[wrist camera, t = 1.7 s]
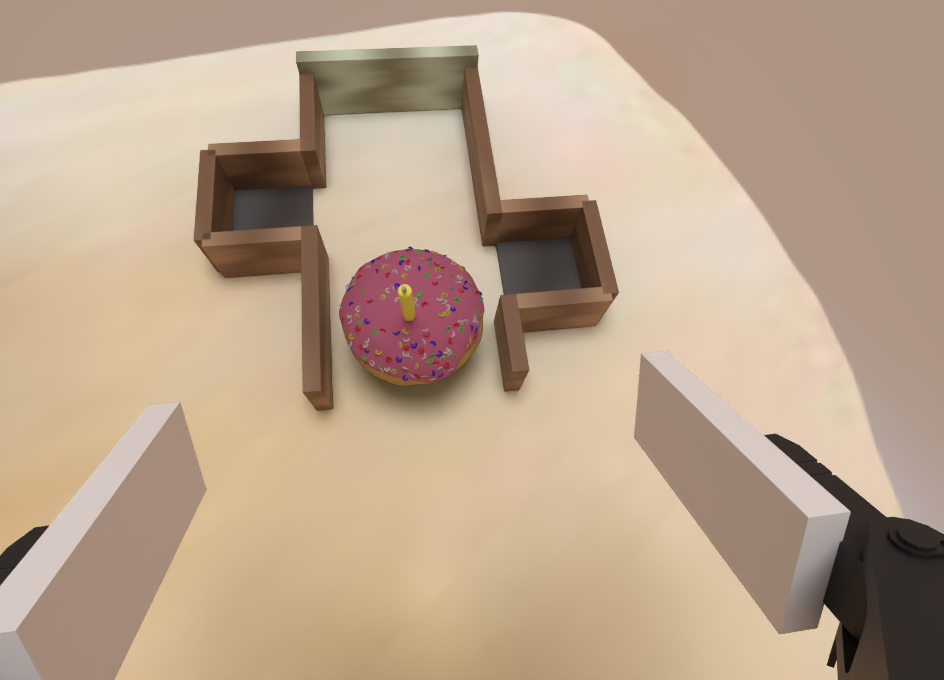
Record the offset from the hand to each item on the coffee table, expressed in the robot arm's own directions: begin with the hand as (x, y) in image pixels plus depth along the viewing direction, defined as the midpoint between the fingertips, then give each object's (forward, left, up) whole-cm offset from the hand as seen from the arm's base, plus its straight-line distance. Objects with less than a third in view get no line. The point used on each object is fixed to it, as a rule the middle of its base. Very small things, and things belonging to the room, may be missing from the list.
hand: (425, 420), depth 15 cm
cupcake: (0, +10, -20) cm, 22 cm away
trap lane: (0, +18, -20) cm, 27 cm away
